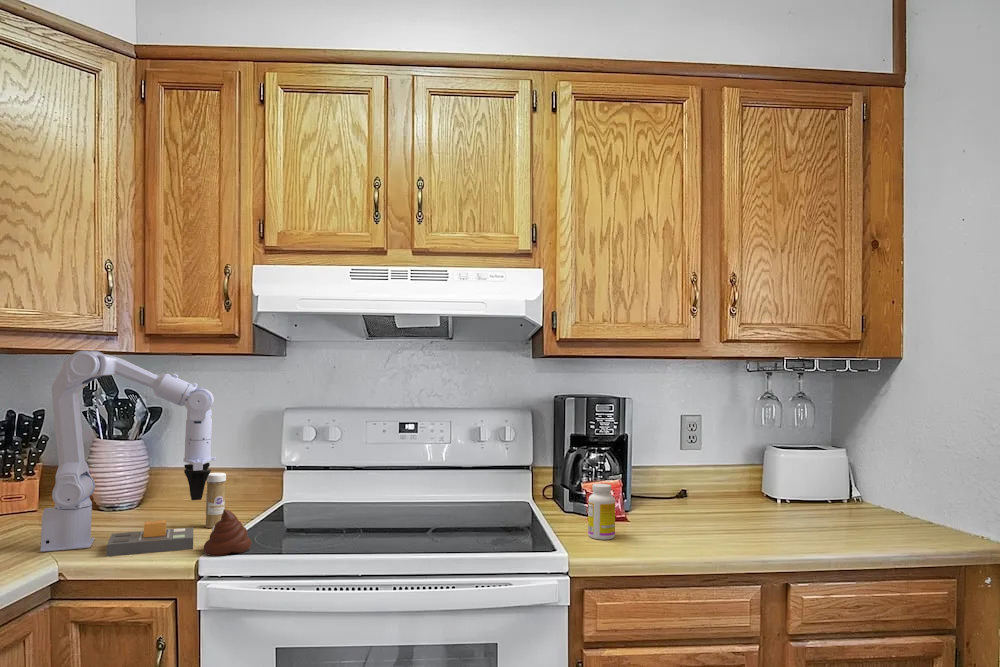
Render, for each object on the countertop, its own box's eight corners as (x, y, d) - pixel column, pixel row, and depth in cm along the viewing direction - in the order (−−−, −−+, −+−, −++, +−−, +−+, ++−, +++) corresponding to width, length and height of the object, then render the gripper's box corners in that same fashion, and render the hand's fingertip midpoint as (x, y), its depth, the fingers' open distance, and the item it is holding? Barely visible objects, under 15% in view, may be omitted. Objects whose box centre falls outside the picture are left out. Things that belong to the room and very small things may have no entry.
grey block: (106, 556, 147) (106, 543, 147) (111, 544, 156) (111, 532, 156) (193, 548, 154) (193, 536, 154) (193, 538, 163) (193, 526, 163)
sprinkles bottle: (212, 529, 171) (214, 475, 172) (201, 527, 173) (202, 473, 174) (228, 526, 175) (230, 473, 176) (216, 523, 177) (218, 471, 178)
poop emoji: (208, 559, 147) (209, 515, 147) (199, 549, 154) (200, 507, 154) (255, 552, 152) (257, 510, 153) (245, 543, 159) (246, 503, 160)
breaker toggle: (143, 537, 153) (144, 524, 153) (144, 534, 156) (144, 521, 156) (165, 535, 155) (165, 522, 155) (165, 532, 158) (166, 519, 158)
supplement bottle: (619, 536, 172) (619, 484, 172) (607, 542, 166) (608, 488, 167) (595, 532, 175) (595, 481, 176) (583, 537, 170) (583, 485, 170)
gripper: (217, 442, 158) (215, 501, 157) (215, 435, 171) (213, 490, 171) (184, 443, 155) (181, 503, 155) (184, 436, 168) (182, 491, 168)
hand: (196, 496), depth 162 cm, fingers open, 7 cm apart
